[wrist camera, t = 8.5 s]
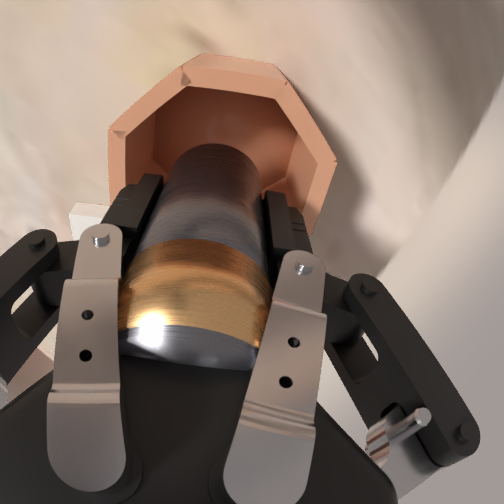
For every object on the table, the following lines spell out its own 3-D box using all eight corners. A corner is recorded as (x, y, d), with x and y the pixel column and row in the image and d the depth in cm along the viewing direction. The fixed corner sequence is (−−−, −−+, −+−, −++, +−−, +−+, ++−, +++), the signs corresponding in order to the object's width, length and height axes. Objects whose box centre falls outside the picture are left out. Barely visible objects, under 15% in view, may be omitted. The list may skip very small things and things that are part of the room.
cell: (170, 136, 12) (65, 346, 4) (272, 151, 12) (310, 378, 5) (164, 219, 14) (109, 425, 7) (252, 231, 15) (259, 443, 7)
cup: (152, 50, 14) (110, 62, 10) (323, 76, 15) (357, 99, 11) (143, 194, 20) (115, 253, 16) (284, 214, 21) (295, 277, 17)
